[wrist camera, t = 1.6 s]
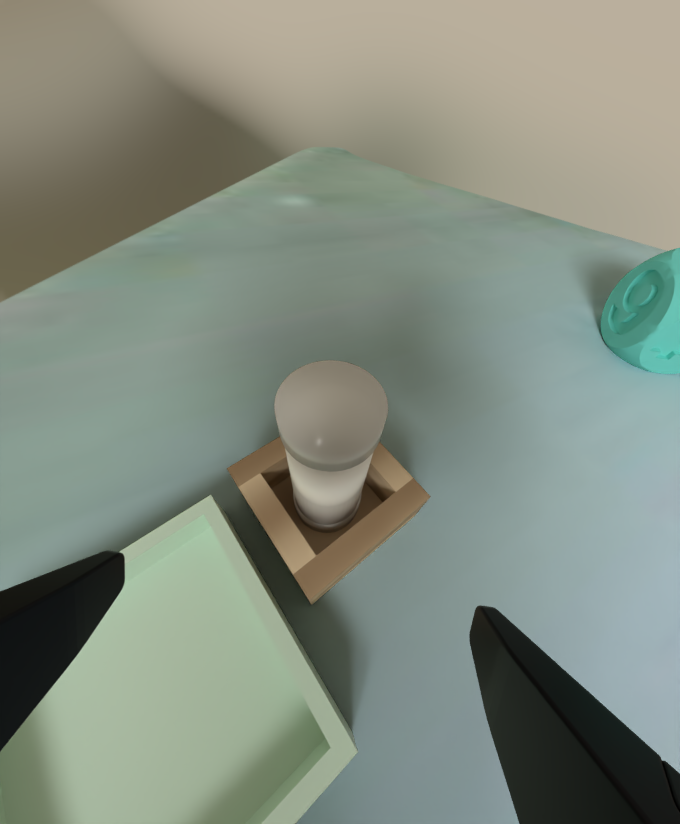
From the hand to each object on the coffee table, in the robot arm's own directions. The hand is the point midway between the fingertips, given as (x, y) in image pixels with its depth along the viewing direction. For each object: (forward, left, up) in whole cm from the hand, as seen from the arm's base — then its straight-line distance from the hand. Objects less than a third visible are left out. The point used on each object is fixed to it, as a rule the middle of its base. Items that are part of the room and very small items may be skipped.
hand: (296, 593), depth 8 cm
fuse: (+4, -4, -11) cm, 13 cm away
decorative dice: (-2, -39, -13) cm, 41 cm away
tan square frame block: (+4, -4, -12) cm, 14 cm away
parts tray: (+1, +8, -12) cm, 15 cm away
